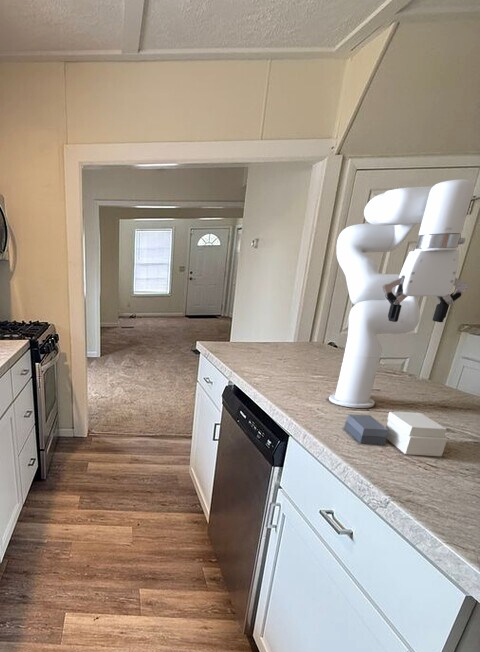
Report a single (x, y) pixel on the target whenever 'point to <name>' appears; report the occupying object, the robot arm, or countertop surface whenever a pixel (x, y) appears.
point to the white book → (416, 424)
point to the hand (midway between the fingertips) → (414, 321)
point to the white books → (415, 442)
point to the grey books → (366, 429)
